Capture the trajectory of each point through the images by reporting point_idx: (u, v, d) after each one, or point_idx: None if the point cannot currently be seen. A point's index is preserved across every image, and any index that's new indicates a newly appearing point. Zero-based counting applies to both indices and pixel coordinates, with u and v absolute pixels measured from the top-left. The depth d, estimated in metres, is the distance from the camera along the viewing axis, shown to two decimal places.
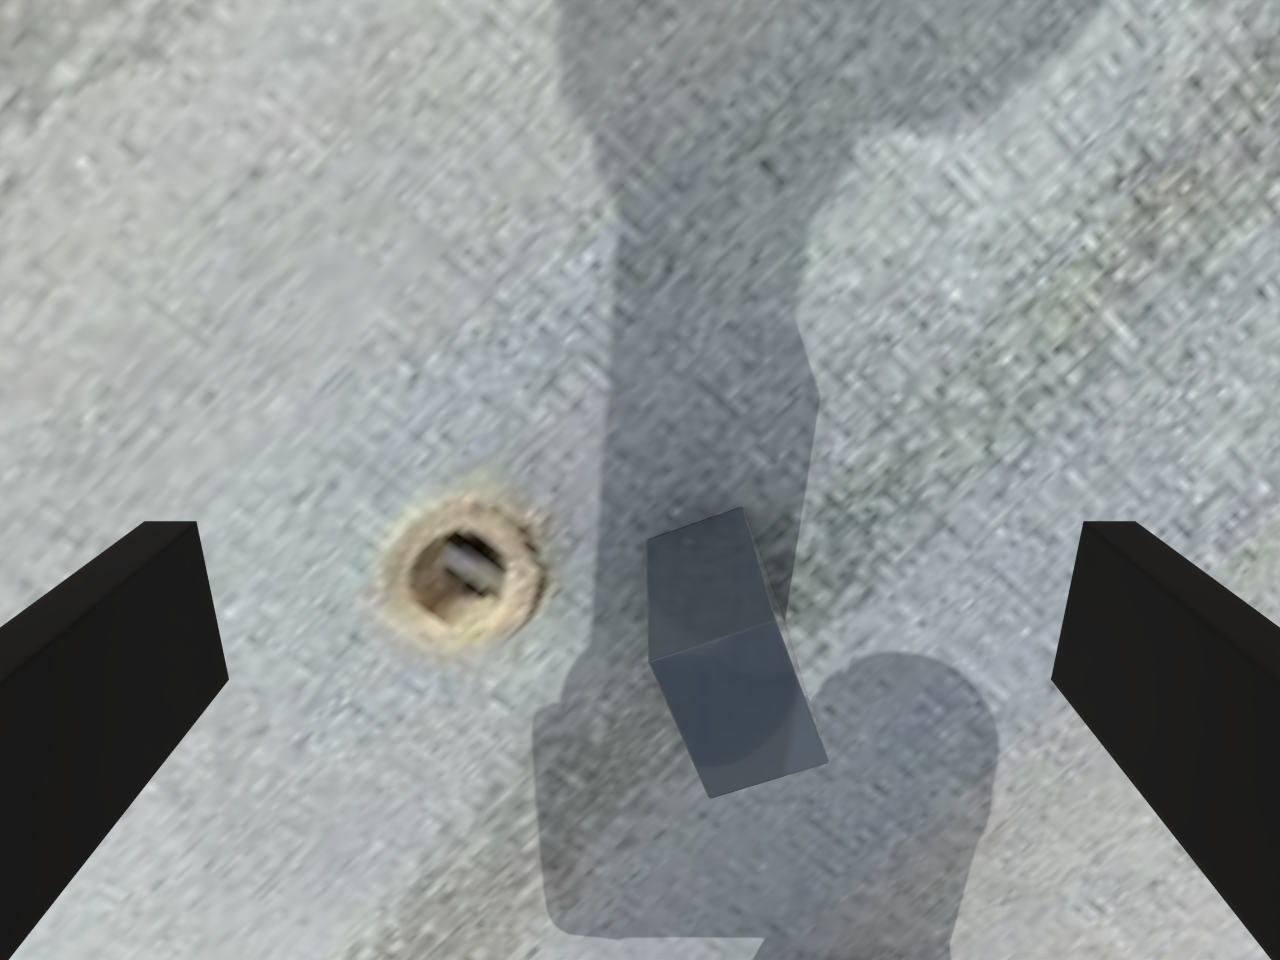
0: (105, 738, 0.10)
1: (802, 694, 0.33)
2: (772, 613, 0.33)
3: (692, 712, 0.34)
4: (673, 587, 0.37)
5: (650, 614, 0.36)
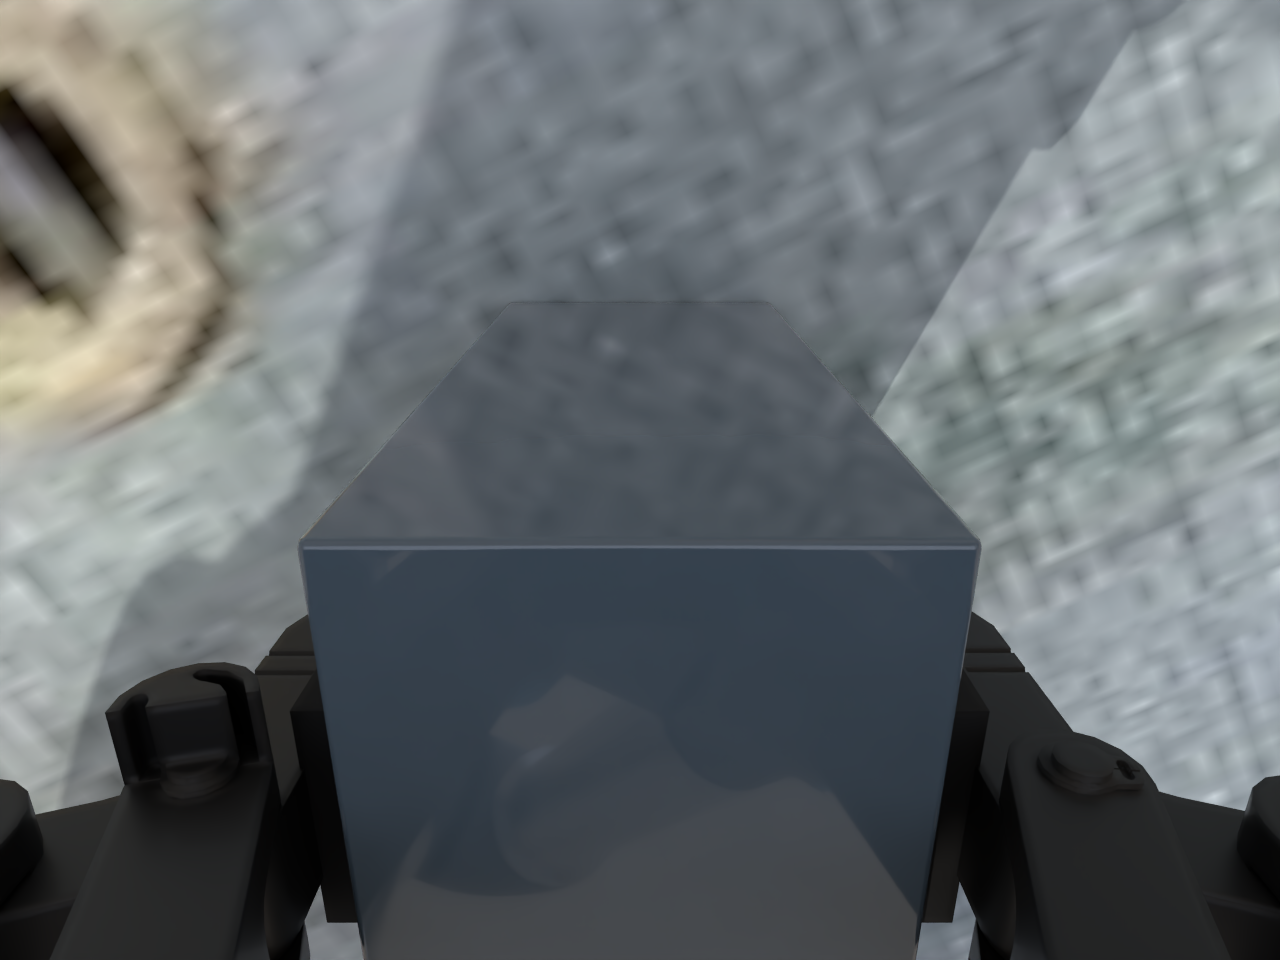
0: None
1: (922, 903, 0.08)
2: (955, 515, 0.07)
3: (434, 839, 0.07)
4: (537, 374, 0.11)
5: (424, 409, 0.10)
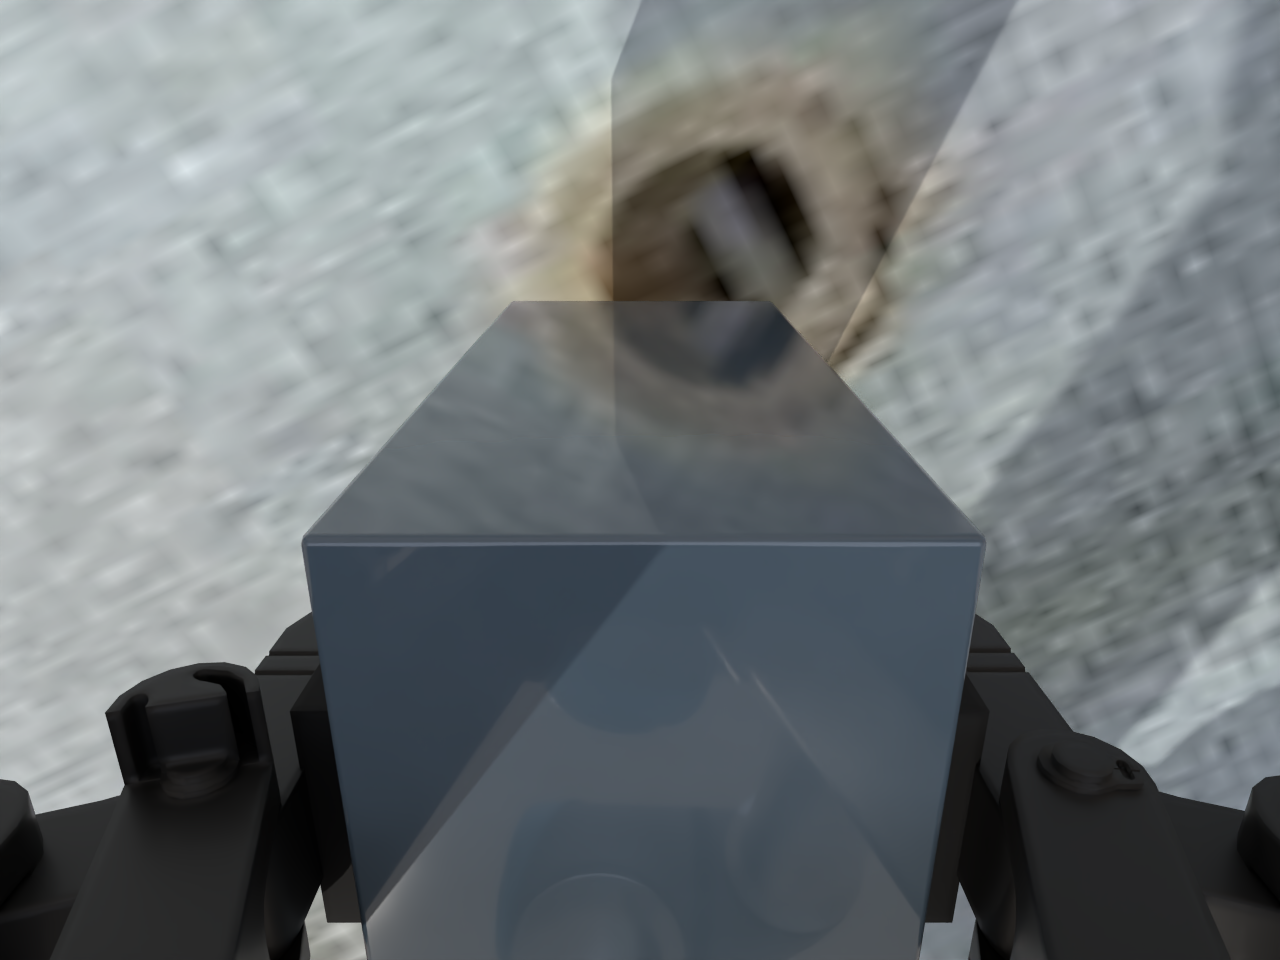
0: None
1: (926, 901, 0.08)
2: (960, 512, 0.07)
3: (439, 836, 0.07)
4: (539, 372, 0.11)
5: (426, 407, 0.10)
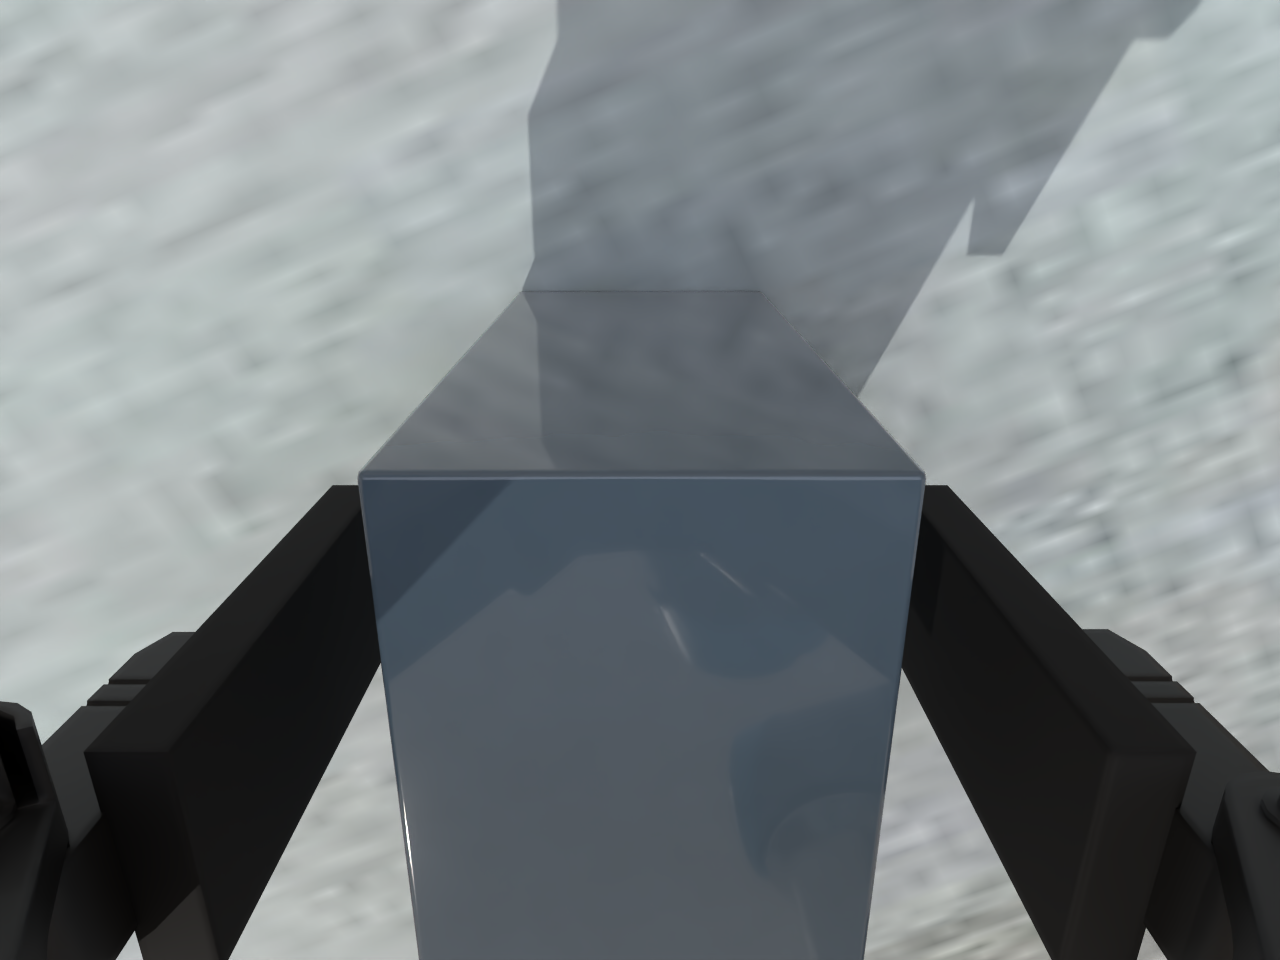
0: (332, 670, 0.11)
1: (883, 792, 0.09)
2: (907, 455, 0.08)
3: (468, 733, 0.09)
4: (549, 350, 0.12)
5: (451, 377, 0.11)
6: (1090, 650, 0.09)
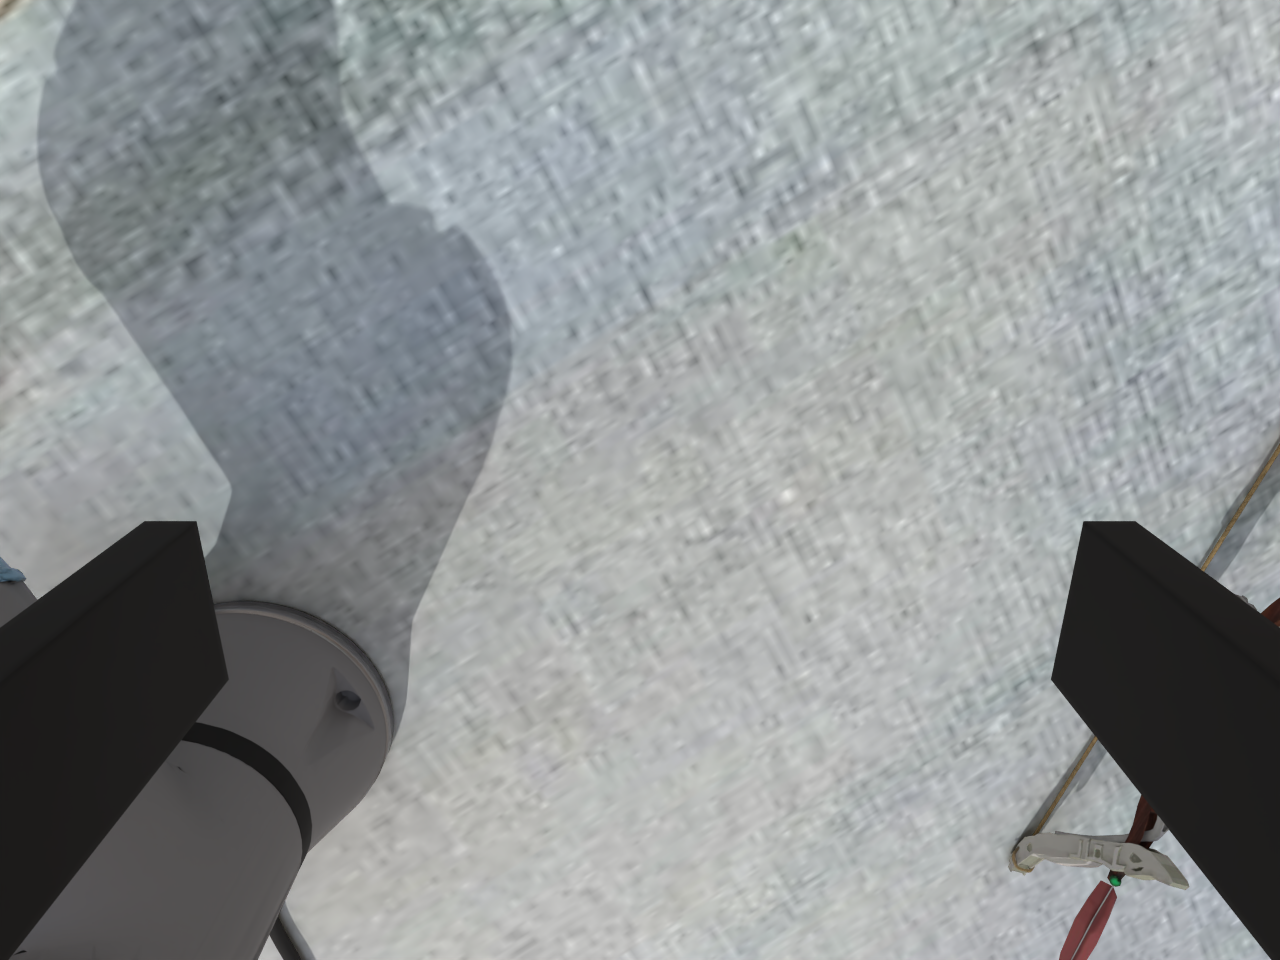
0: (105, 738, 0.10)
1: None
2: None
3: None
4: None
5: None
6: None
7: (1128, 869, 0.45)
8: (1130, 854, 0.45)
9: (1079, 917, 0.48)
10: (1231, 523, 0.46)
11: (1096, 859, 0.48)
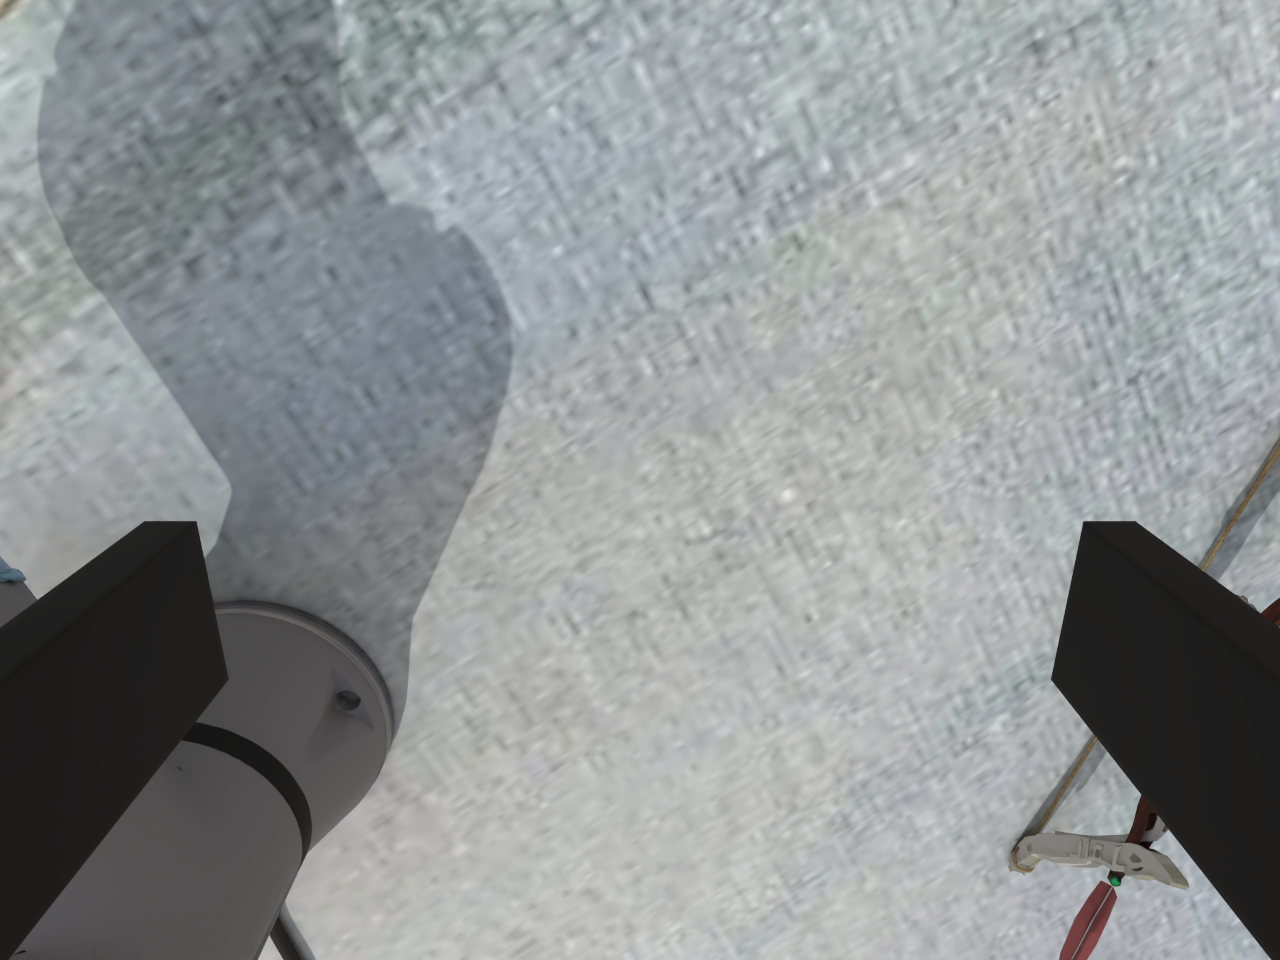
0: (105, 738, 0.10)
1: None
2: None
3: None
4: None
5: None
6: None
7: (1128, 869, 0.45)
8: (1130, 854, 0.45)
9: (1079, 917, 0.48)
10: (1231, 523, 0.46)
11: (1096, 859, 0.48)
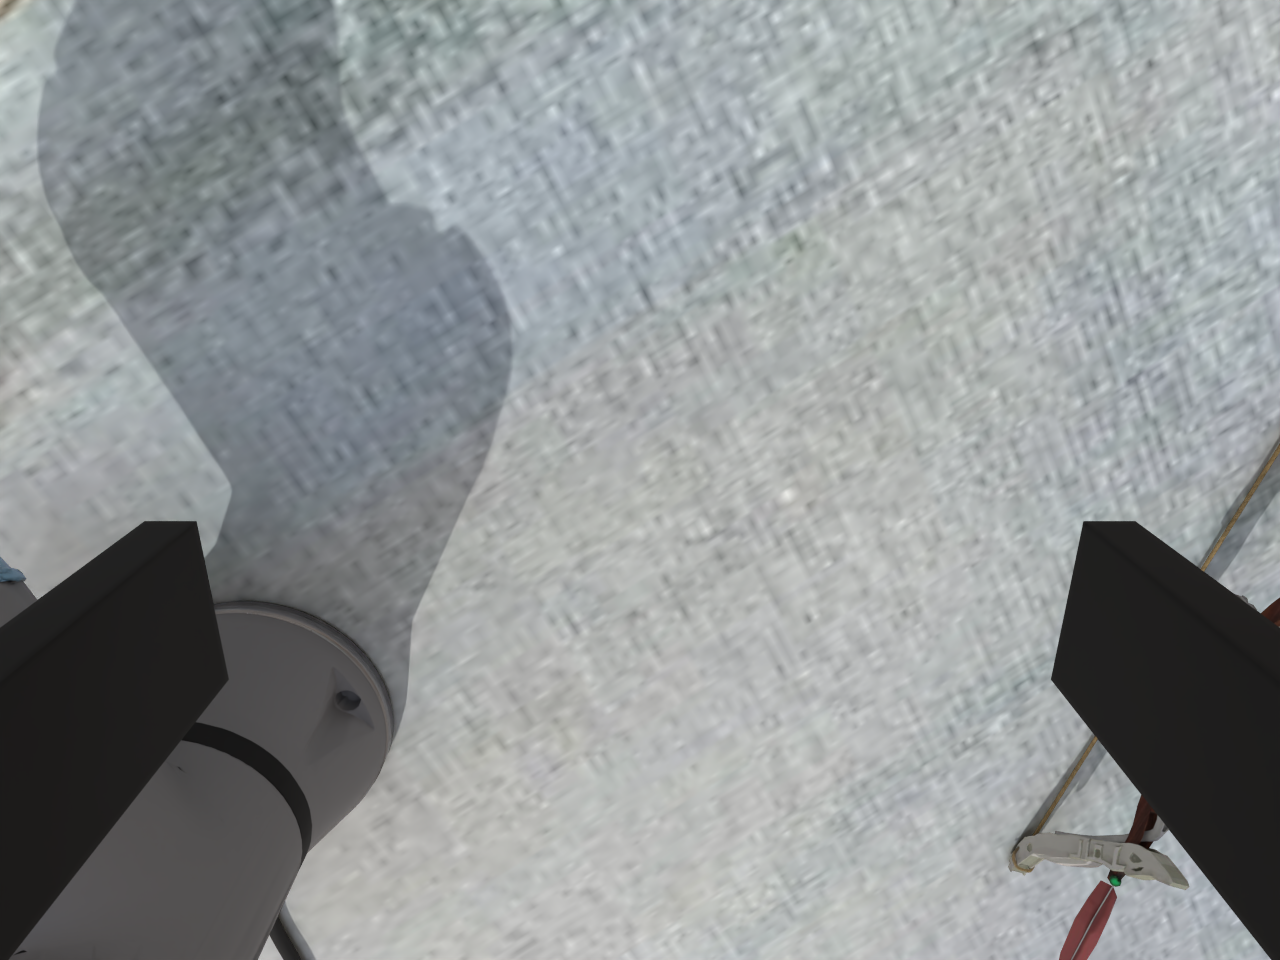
0: (105, 738, 0.10)
1: None
2: None
3: None
4: None
5: None
6: None
7: (1128, 869, 0.45)
8: (1130, 854, 0.45)
9: (1079, 917, 0.48)
10: (1231, 523, 0.46)
11: (1096, 859, 0.48)
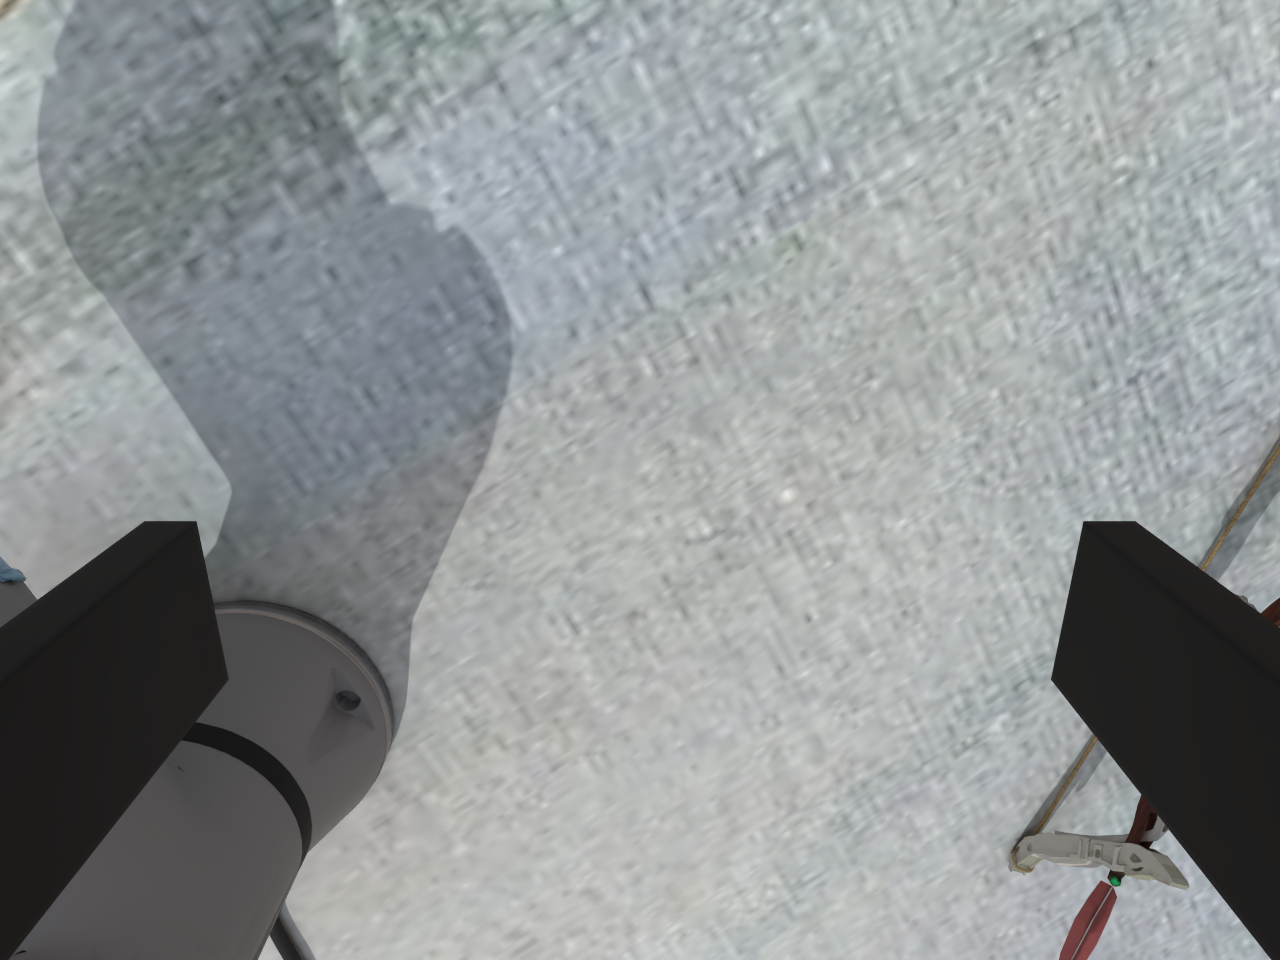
0: (105, 738, 0.10)
1: None
2: None
3: None
4: None
5: None
6: None
7: (1128, 869, 0.45)
8: (1130, 854, 0.45)
9: (1079, 917, 0.48)
10: (1231, 523, 0.46)
11: (1096, 859, 0.48)
